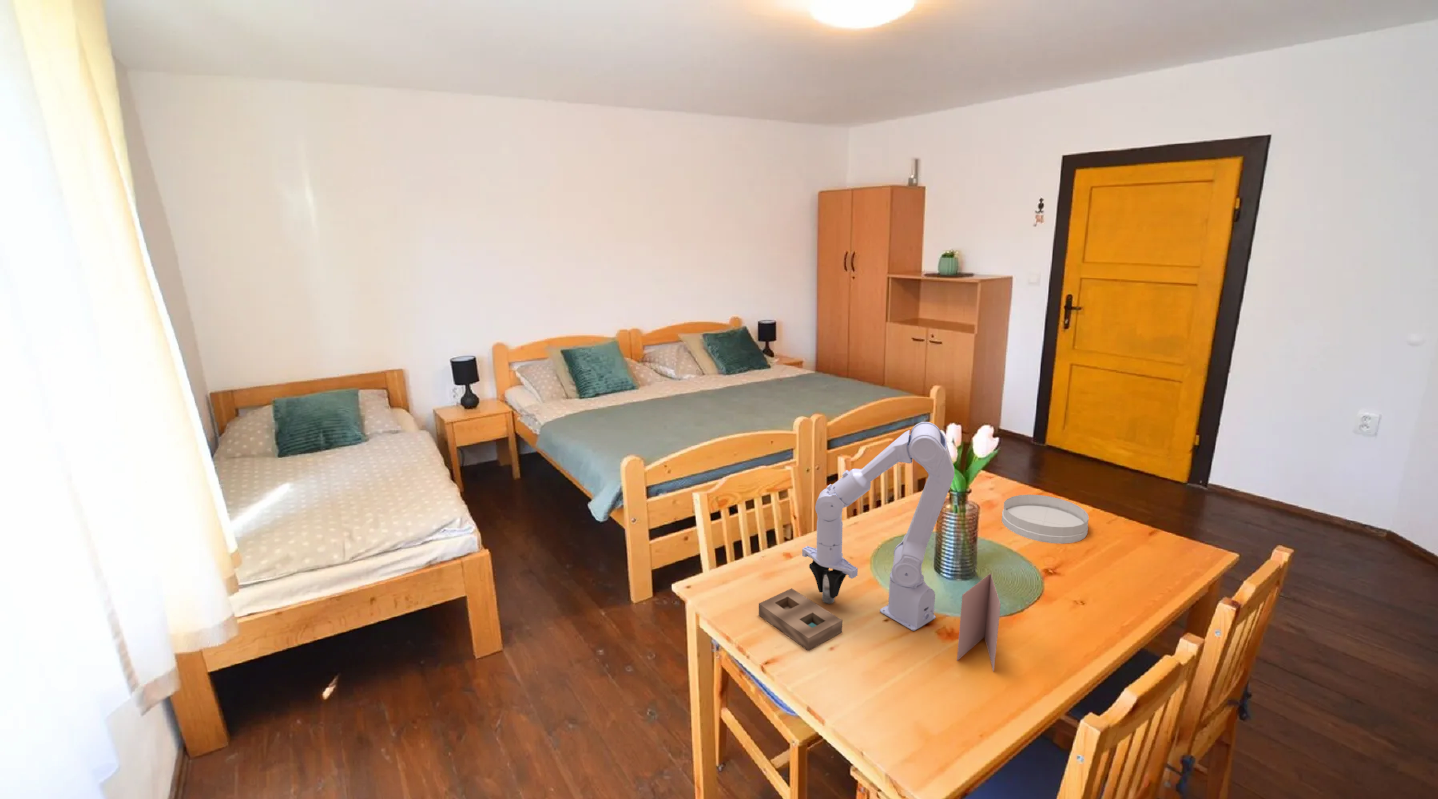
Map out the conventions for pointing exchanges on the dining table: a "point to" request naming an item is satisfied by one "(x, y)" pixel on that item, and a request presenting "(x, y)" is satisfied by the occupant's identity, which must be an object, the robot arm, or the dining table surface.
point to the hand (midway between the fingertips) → (828, 593)
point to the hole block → (800, 618)
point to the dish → (1045, 519)
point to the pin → (826, 588)
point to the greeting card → (979, 618)
